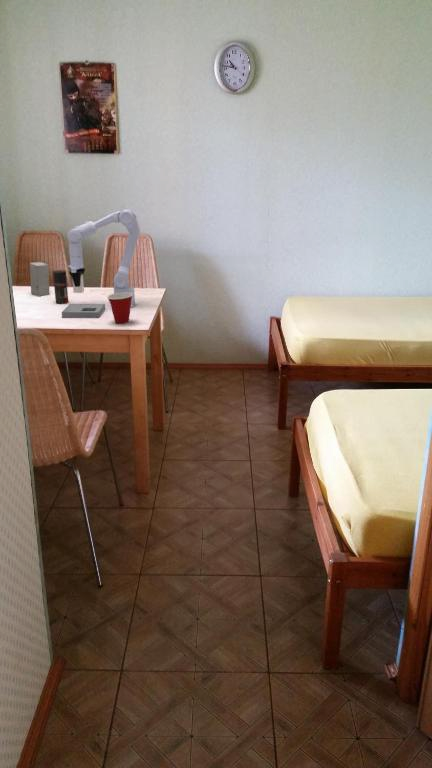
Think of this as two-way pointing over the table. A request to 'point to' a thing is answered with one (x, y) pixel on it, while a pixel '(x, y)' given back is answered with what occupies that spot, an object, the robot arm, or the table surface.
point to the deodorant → (60, 287)
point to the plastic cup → (120, 306)
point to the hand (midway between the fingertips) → (78, 285)
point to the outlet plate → (83, 311)
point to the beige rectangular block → (79, 289)
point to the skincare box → (39, 279)
